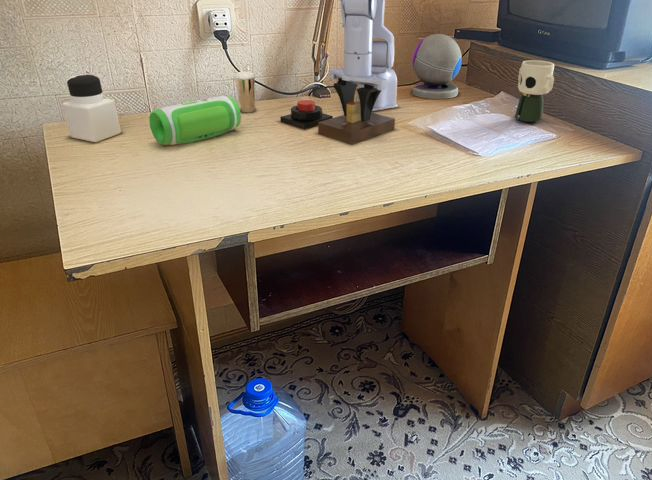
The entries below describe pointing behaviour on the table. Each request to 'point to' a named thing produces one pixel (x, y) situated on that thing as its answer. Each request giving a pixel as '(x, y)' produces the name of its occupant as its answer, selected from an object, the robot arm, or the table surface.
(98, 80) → the medicine bottle
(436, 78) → the webcam
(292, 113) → the black button base
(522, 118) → the character mug
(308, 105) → the release button
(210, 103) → the speaker
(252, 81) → the milkshake
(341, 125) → the lock plate
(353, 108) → the tan red block
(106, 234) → the table surface
